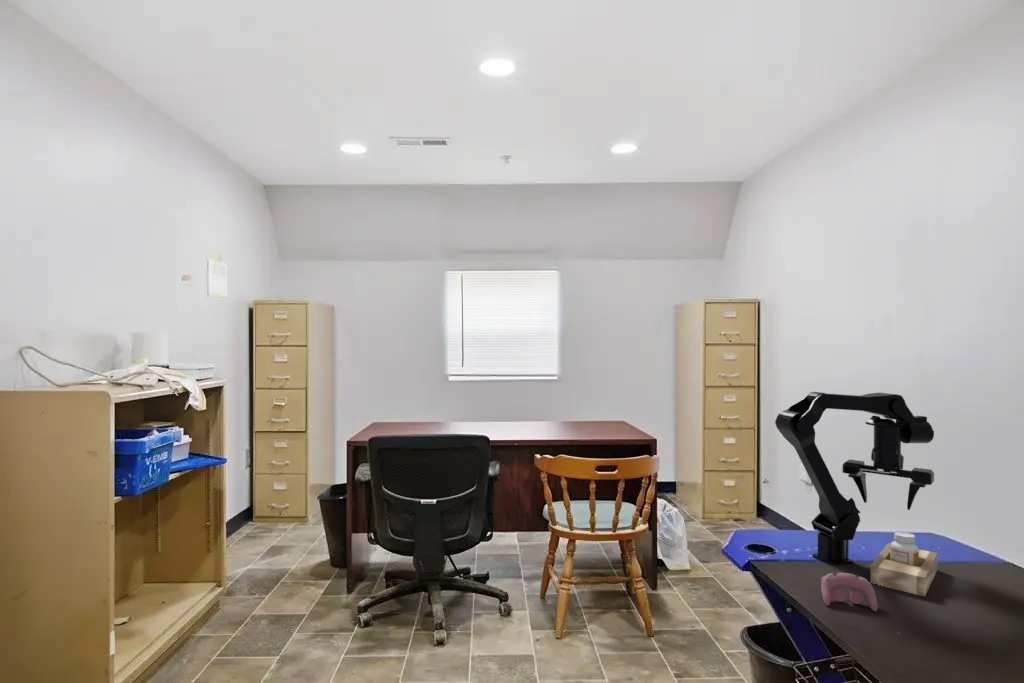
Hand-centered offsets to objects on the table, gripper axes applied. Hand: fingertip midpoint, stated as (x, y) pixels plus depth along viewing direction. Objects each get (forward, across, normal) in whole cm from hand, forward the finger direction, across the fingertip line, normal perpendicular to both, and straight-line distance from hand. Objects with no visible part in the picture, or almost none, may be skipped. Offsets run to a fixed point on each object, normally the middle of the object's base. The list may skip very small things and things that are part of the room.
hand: (886, 506), depth 146 cm
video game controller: (+13, +1, +36) cm, 38 cm away
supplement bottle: (+13, -5, +11) cm, 18 cm away
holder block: (+13, -5, +11) cm, 18 cm away
